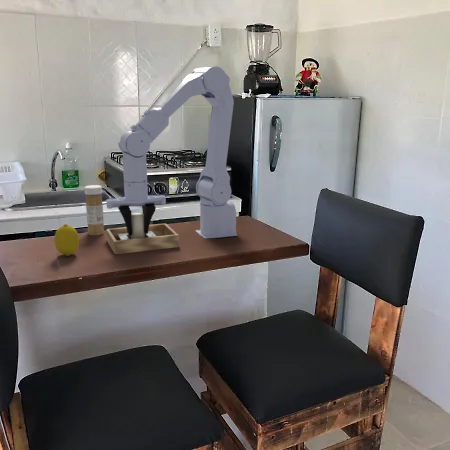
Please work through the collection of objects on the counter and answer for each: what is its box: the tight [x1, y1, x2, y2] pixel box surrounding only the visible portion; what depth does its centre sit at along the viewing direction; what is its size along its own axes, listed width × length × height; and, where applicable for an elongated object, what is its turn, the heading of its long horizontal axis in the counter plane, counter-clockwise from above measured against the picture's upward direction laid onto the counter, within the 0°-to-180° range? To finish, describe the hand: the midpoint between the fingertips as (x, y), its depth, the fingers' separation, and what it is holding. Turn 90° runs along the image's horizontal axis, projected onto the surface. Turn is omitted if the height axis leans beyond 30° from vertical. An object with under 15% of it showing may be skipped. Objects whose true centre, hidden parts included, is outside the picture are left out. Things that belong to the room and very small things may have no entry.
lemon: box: [54, 223, 80, 257], centre depth 119 cm, size 6×6×8 cm
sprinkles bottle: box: [84, 184, 106, 236], centre depth 137 cm, size 5×5×14 cm
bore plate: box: [117, 230, 157, 241], centre depth 129 cm, size 9×9×2 cm
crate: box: [105, 223, 180, 255], centre depth 129 cm, size 16×12×4 cm
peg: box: [131, 212, 145, 239], centre depth 128 cm, size 3×3×7 cm
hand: (137, 233), depth 128 cm, fingers open, 3 cm apart
